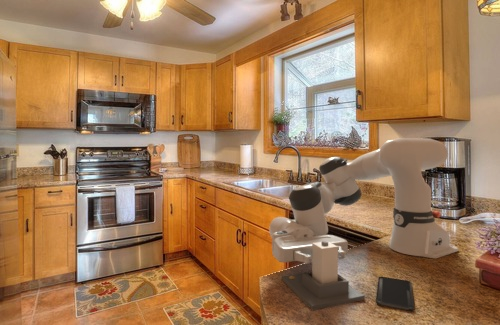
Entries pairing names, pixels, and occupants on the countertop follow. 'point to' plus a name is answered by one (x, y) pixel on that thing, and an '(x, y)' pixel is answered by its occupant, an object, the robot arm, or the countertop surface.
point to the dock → (322, 291)
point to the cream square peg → (324, 262)
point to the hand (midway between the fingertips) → (326, 258)
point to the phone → (395, 294)
